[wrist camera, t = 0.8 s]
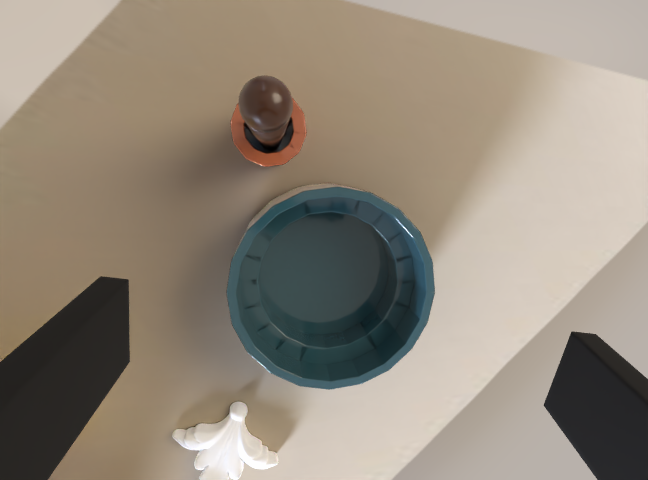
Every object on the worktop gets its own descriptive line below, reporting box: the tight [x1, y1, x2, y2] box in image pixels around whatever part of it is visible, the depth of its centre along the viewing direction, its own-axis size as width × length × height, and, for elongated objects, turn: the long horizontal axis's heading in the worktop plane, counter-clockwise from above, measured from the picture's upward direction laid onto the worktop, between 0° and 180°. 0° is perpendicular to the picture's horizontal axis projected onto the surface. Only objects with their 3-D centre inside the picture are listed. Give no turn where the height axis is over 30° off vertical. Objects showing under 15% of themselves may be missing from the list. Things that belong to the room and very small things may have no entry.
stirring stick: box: [238, 76, 293, 149], centre depth 24 cm, size 2×2×20 cm
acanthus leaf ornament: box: [172, 402, 279, 480], centre depth 39 cm, size 8×7×2 cm
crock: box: [230, 98, 307, 167], centre depth 31 cm, size 5×5×9 cm
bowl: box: [227, 183, 435, 389], centre depth 34 cm, size 15×15×6 cm
